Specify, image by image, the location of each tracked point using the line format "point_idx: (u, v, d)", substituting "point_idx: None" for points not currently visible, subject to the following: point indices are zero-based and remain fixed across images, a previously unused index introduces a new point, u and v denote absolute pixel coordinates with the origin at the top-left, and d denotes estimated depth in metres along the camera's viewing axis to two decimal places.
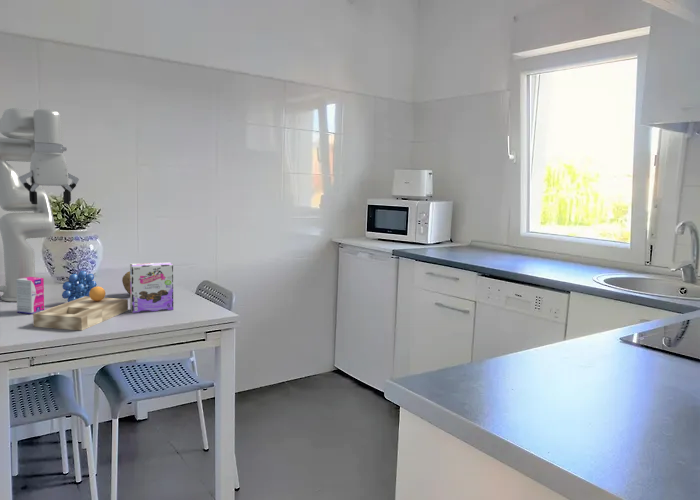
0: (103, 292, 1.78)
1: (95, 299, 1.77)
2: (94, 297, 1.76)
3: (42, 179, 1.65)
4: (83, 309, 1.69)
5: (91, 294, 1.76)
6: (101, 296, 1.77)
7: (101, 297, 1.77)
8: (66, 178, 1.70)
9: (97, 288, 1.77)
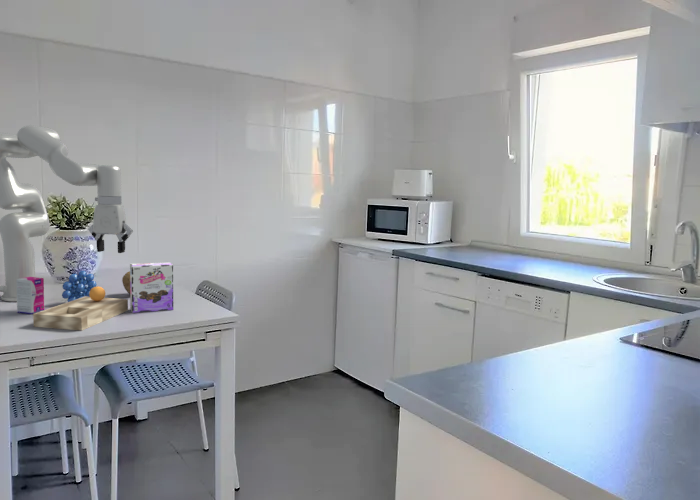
0: (103, 292, 1.78)
1: (95, 299, 1.77)
2: (94, 297, 1.76)
3: None
4: (83, 309, 1.69)
5: (91, 294, 1.76)
6: (101, 296, 1.77)
7: (101, 297, 1.77)
8: None
9: (97, 288, 1.77)
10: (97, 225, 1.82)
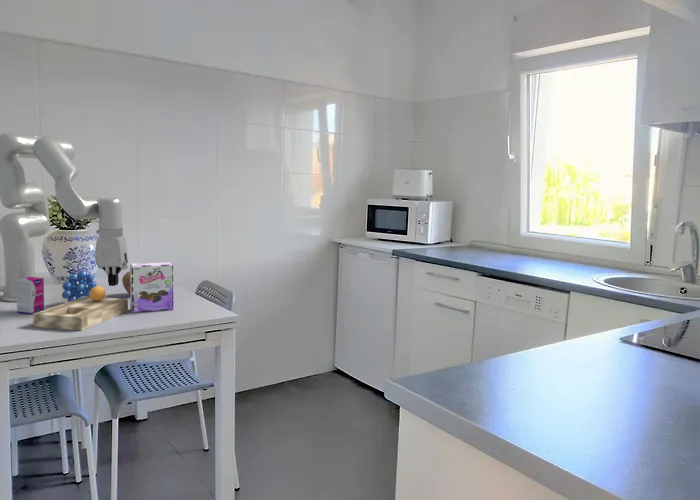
0: (103, 292, 1.78)
1: (95, 299, 1.77)
2: (94, 297, 1.76)
3: None
4: (83, 309, 1.69)
5: (91, 294, 1.76)
6: (101, 296, 1.77)
7: (101, 297, 1.77)
8: None
9: (97, 288, 1.77)
10: (99, 258, 1.83)
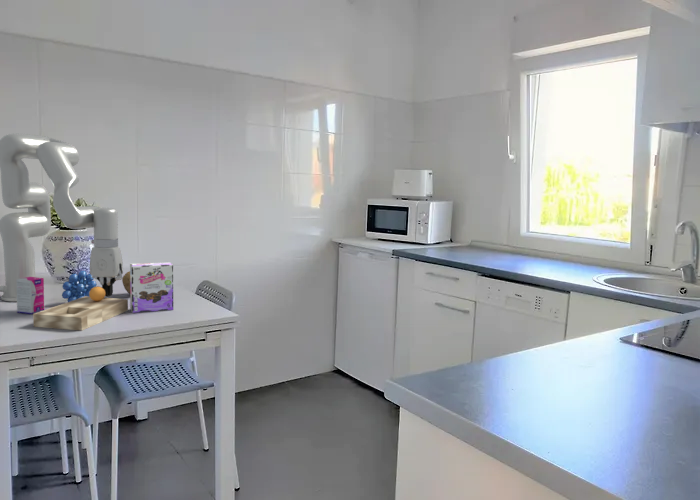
0: (103, 292, 1.78)
1: (95, 299, 1.77)
2: (94, 297, 1.76)
3: None
4: (83, 309, 1.69)
5: (91, 294, 1.76)
6: (101, 296, 1.77)
7: (101, 297, 1.77)
8: None
9: (97, 288, 1.77)
10: (94, 268, 1.81)
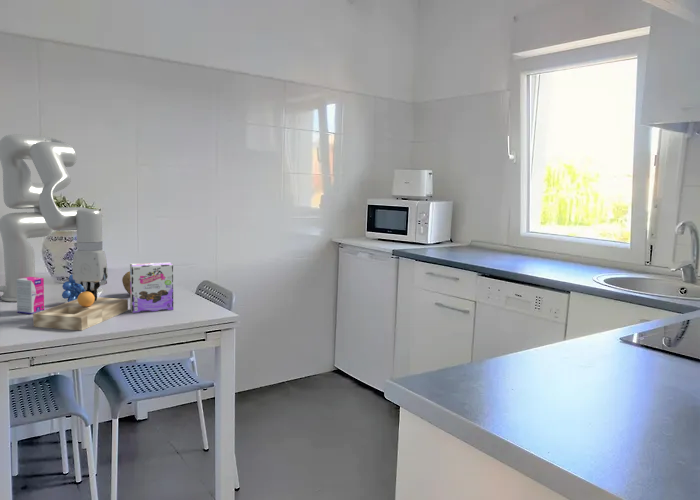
0: None
1: None
2: None
3: None
4: (83, 309, 1.69)
5: None
6: None
7: (93, 295, 1.72)
8: None
9: None
10: (76, 272, 1.72)
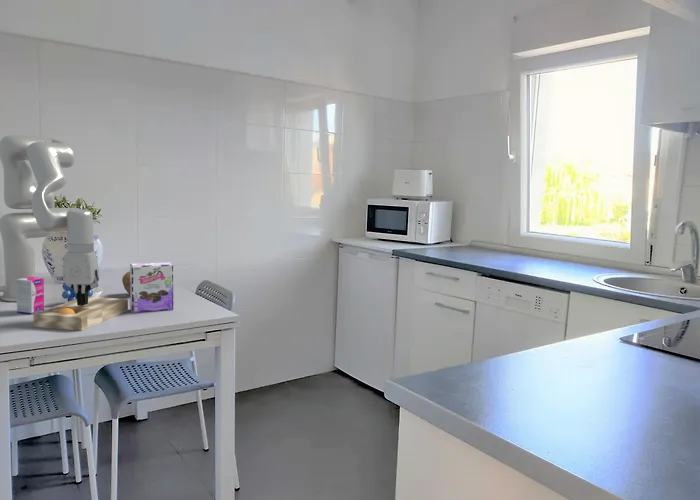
0: None
1: None
2: None
3: None
4: (83, 309, 1.69)
5: None
6: (60, 311, 1.63)
7: (61, 311, 1.63)
8: None
9: None
10: (67, 275, 1.67)
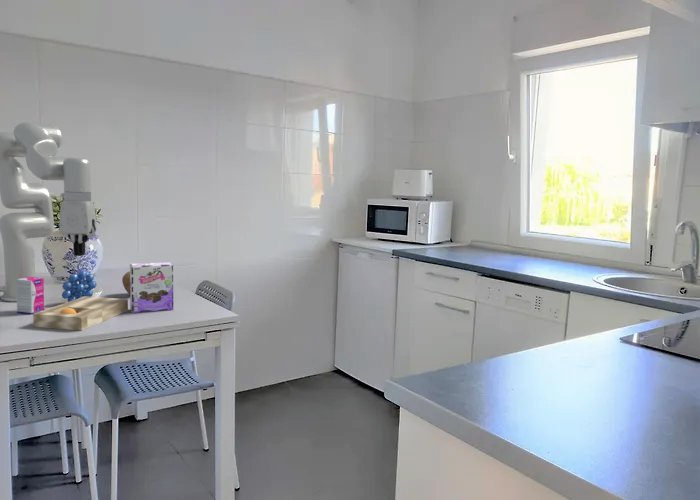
0: (65, 308, 1.65)
1: None
2: None
3: None
4: (83, 309, 1.69)
5: None
6: (63, 311, 1.63)
7: (64, 311, 1.63)
8: None
9: None
10: (64, 224, 1.65)
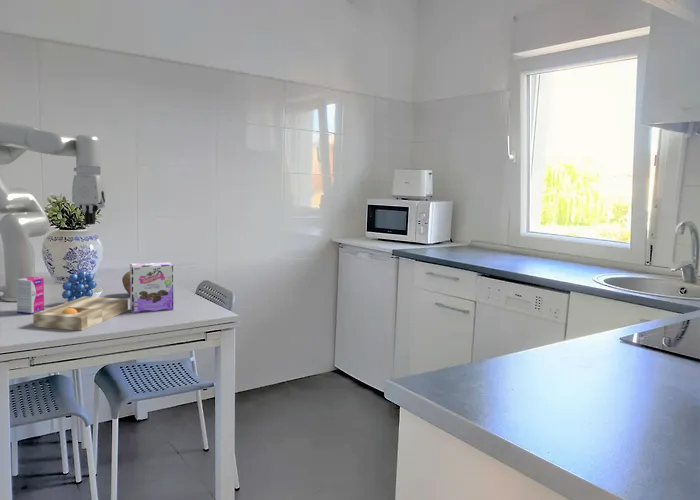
0: (68, 308, 1.65)
1: None
2: None
3: None
4: (83, 309, 1.69)
5: None
6: (66, 311, 1.63)
7: (67, 311, 1.63)
8: None
9: None
10: (76, 195, 1.82)
